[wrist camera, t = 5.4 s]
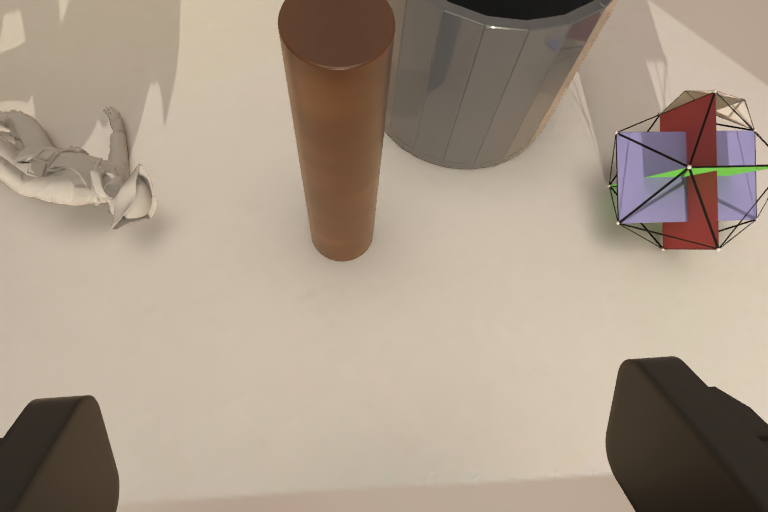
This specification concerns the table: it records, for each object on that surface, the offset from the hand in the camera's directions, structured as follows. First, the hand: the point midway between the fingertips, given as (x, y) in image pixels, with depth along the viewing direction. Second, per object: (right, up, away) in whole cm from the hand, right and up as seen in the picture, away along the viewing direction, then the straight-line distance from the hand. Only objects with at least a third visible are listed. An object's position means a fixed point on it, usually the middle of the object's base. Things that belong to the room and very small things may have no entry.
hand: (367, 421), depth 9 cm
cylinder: (-2, +4, +19) cm, 19 cm away
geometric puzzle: (+14, +5, +20) cm, 25 cm away
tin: (+4, +12, +22) cm, 25 cm away
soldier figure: (-16, +7, +19) cm, 26 cm away
